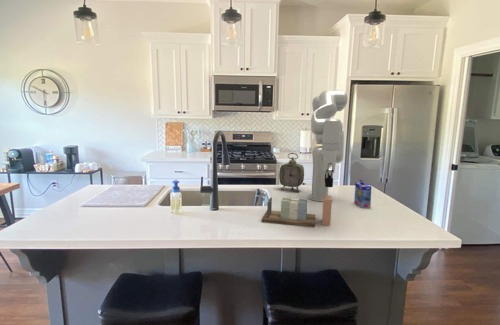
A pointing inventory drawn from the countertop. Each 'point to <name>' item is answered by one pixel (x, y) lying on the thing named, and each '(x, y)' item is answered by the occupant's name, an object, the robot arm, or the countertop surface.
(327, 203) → the terracotta rectangular block
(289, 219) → the walnut shelf
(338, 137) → the robot arm
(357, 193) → the ink cartridge box
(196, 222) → the countertop surface
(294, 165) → the tabletop clock
